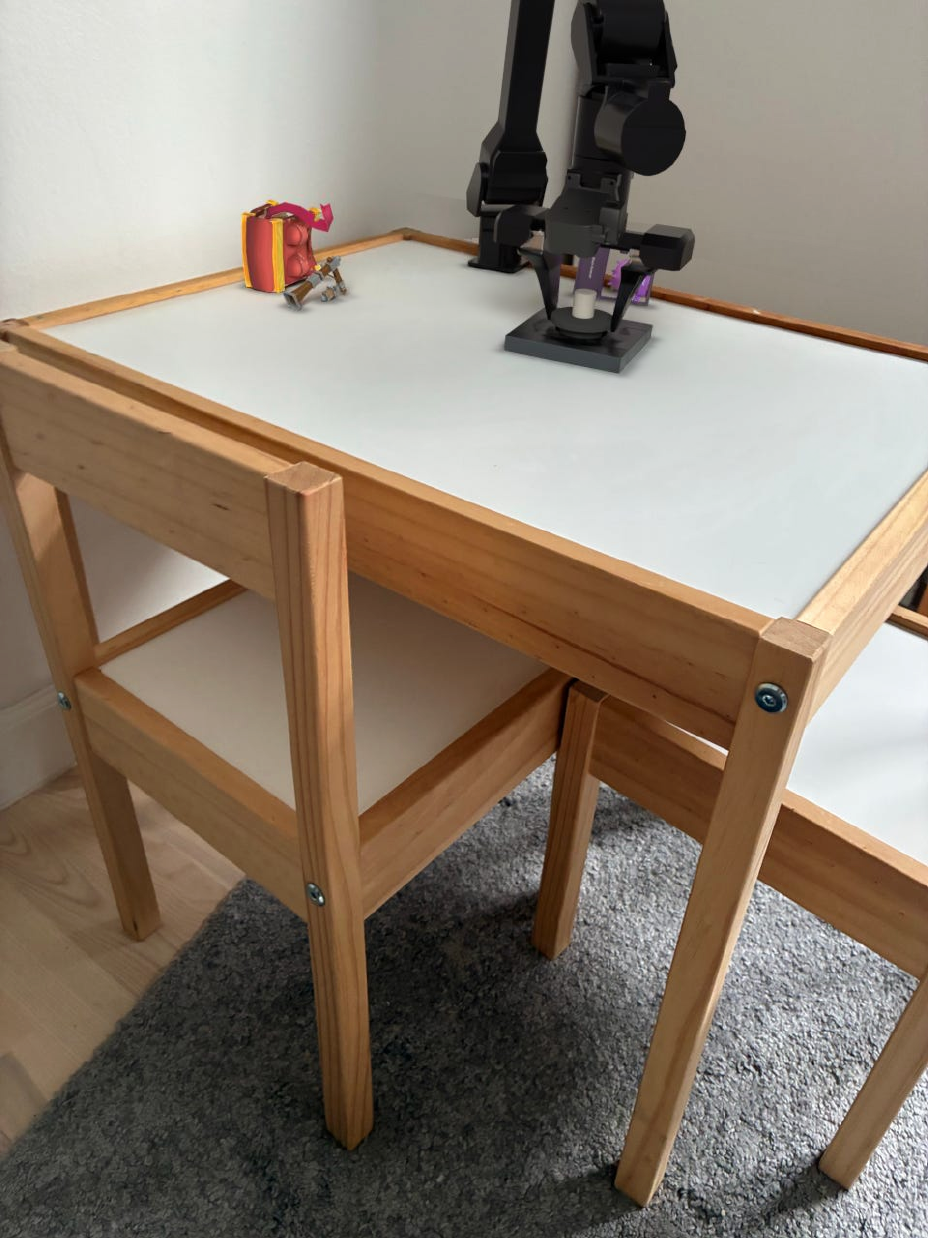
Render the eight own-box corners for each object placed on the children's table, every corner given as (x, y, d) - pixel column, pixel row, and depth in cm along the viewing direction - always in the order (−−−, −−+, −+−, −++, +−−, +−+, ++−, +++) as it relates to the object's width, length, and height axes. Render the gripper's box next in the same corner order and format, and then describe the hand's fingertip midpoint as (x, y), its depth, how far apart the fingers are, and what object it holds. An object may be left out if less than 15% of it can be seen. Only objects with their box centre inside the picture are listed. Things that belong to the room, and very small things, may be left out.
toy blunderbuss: (356, 287, 102) (342, 251, 98) (307, 329, 99) (291, 294, 95) (345, 283, 103) (331, 248, 99) (296, 325, 100) (281, 290, 96)
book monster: (277, 266, 110) (359, 290, 106) (228, 284, 103) (313, 310, 99) (273, 172, 103) (360, 193, 99) (221, 185, 97) (311, 208, 93)
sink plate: (545, 318, 99) (546, 304, 98) (650, 338, 95) (653, 324, 94) (504, 350, 90) (505, 335, 89) (618, 373, 86) (621, 357, 85)
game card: (582, 233, 104) (659, 243, 102) (590, 240, 109) (664, 250, 107) (571, 293, 106) (646, 305, 104) (579, 298, 111) (651, 309, 109)
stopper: (561, 321, 95) (565, 278, 93) (619, 332, 93) (625, 288, 91) (540, 338, 91) (544, 294, 88) (600, 350, 89) (607, 304, 86)
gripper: (475, 154, 79) (466, 330, 88) (683, 181, 74) (650, 366, 83) (521, 139, 88) (508, 302, 97) (711, 163, 82) (678, 333, 91)
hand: (581, 325), depth 92 cm, fingers closed on stopper, 6 cm apart
